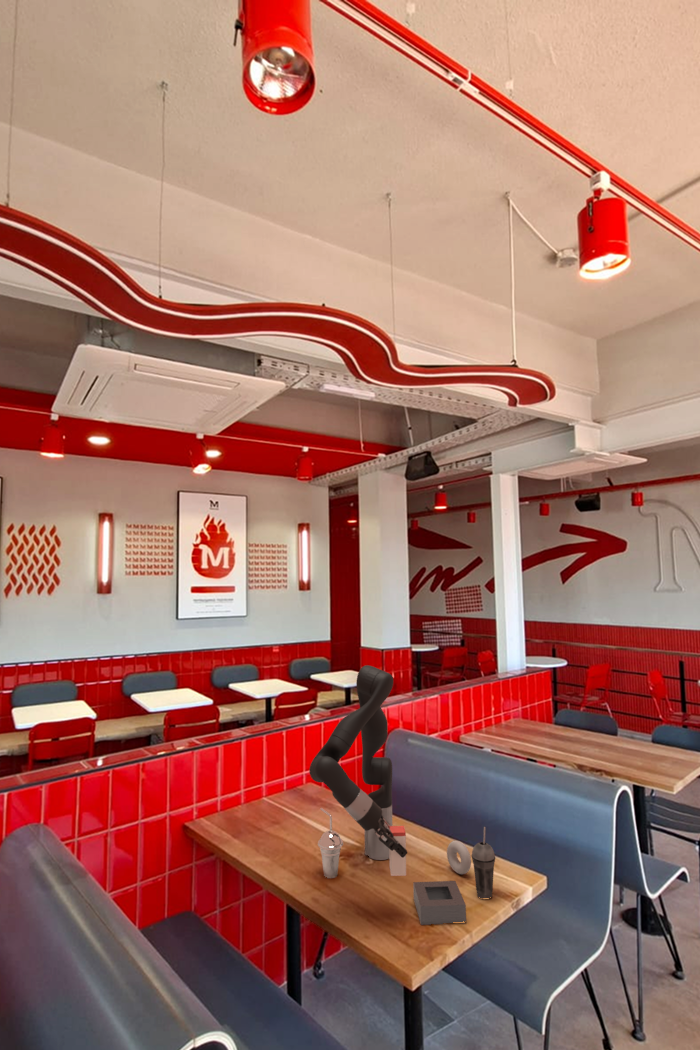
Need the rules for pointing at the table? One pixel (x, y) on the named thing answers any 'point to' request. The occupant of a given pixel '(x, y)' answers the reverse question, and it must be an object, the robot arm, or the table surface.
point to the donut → (453, 859)
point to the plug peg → (395, 859)
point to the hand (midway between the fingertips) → (403, 850)
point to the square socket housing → (439, 902)
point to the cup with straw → (330, 850)
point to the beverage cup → (483, 868)
